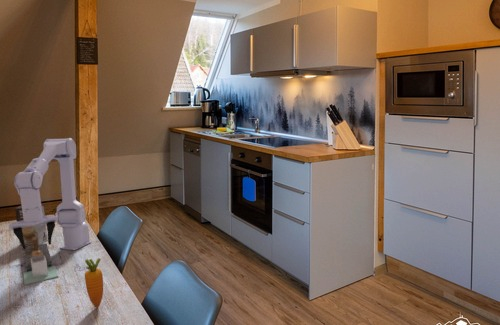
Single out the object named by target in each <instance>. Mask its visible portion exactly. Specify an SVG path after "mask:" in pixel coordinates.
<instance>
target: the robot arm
mask: <svg viewBox="0 0 500 325" xmlns="http://www.w3.org/2000/svg"><path fill="white" fill-rule="evenodd" d="M42 145H43V150H42V151H41V153H40V155H39V156H38V157H36V158H32V160H31V162H29V164H28V165H27V166H26V168H25V169H24V170H23V171H20V172H18V173H17V174H16V175H15V176H14V183H13V184H14V187H15V189H16V190H17V194H18V195H19V196H20V202H21V205H22V211H23V218H24V220H22V221H18V222H17V221H14V222H10V223H9V222H8V229H9V231H13V234H14V235H15V237H16V238H17V239H18V242H19V241H20V242H21V244H22V245H21V246H22V250H23V251H24V250H25V247H26V245H25V243H24V239H23V232H22V228H24V227H30V226H35V225H41V224H46V230H47V239H48V241H47V244H48V245H52V237H53V233H54V230H55V227H56V223H57V224H58V225H59V226H60V228H62V236H63V245H61V246H59V249H61V250H69V251H76V250H79V249H81V248H83V247H84V246H86V245H89V244H90V243H92V240H91V239H90V231H89V227H88V226H89V225H88V224H87V223H86V222H85V221H86V217H87V216H86V211H85V206H84V204H83V203H81V202H80V201H78V200H77V196H76V193H77V192H76V180H75V165H74V160H75V159H76V158H77V146H76V142H75V140H74V139H73V138H71V137H69V138H46V140H45V141H44V142H43V144H42ZM52 160H57V162H58V163H59V173H60V174H59V175H60V186H61V200H62V202H60V203H59V205H57V207H56V213H55V215H49V216H46V215H45V217H43V214H42V206H41V204H42V200H41V193H40V188H41V187H42V184H43V179H44V175H45V174H46V173H47V171H48V170H49V168H50V167H49V166H50V165H49V163H50V162H51V161H52Z"/></svg>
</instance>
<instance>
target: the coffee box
mask: <svg viewBox="0 0 500 325" xmlns="http://www.w3.org/2000/svg"><path fill="white" fill-rule="evenodd" d="M41 206H42V214H43V217H46V215H45V206H44V204H43V203H41ZM14 212H15V219H16V221H15V222H18V221H22V220H24V218H23V211H22V204H21V205H19V206H17V207H15V208H14ZM22 232H23V239H24V243H25V246H28V247H30V246H33V241H32V237H36V236H37V241H38V245H40V244H45V243H46V242H48V232H47V225H46V224H41V225H35V226H30V227H24V228H22ZM18 243H19V246H22V244H21V242H20V241H19V240H18Z"/></svg>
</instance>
